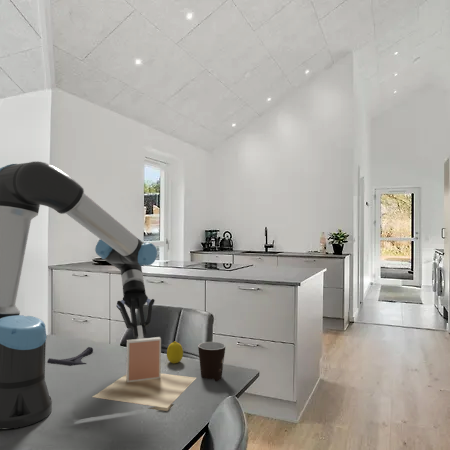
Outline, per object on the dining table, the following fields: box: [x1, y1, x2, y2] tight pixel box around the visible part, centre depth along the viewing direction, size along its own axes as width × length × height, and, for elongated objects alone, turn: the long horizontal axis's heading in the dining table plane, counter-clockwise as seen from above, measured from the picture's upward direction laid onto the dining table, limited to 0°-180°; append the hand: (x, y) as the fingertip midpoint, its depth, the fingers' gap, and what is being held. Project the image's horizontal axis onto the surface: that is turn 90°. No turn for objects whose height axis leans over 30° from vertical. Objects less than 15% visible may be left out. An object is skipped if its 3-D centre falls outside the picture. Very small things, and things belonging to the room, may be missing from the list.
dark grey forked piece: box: [47, 346, 94, 366], centre depth 143 cm, size 14×15×3 cm
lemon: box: [166, 340, 184, 364], centre depth 137 cm, size 6×6×8 cm
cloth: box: [92, 372, 197, 412], centre depth 116 cm, size 22×22×1 cm
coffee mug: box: [197, 341, 226, 382], centre depth 127 cm, size 12×9×10 cm
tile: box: [125, 336, 162, 382], centre depth 122 cm, size 2×10×12 cm, turn 112°
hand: (141, 345), depth 126 cm, fingers closed
